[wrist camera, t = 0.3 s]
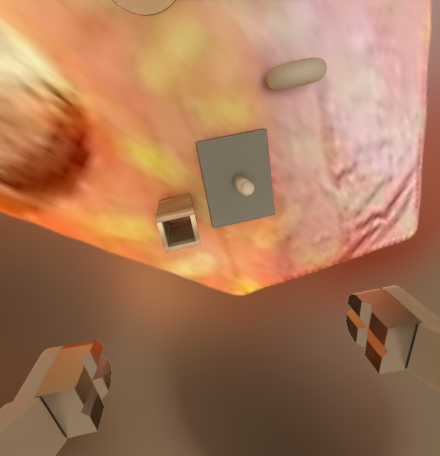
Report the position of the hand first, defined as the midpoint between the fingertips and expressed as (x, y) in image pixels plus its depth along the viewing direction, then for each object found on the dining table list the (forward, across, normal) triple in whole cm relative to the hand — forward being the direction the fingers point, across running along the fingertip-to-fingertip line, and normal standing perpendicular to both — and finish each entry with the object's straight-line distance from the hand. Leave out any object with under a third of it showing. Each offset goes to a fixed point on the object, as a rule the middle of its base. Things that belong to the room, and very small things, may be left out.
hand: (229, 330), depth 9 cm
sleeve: (+46, +5, +12) cm, 48 cm away
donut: (+49, -19, -10) cm, 53 cm away
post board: (+47, -8, +8) cm, 49 cm away
